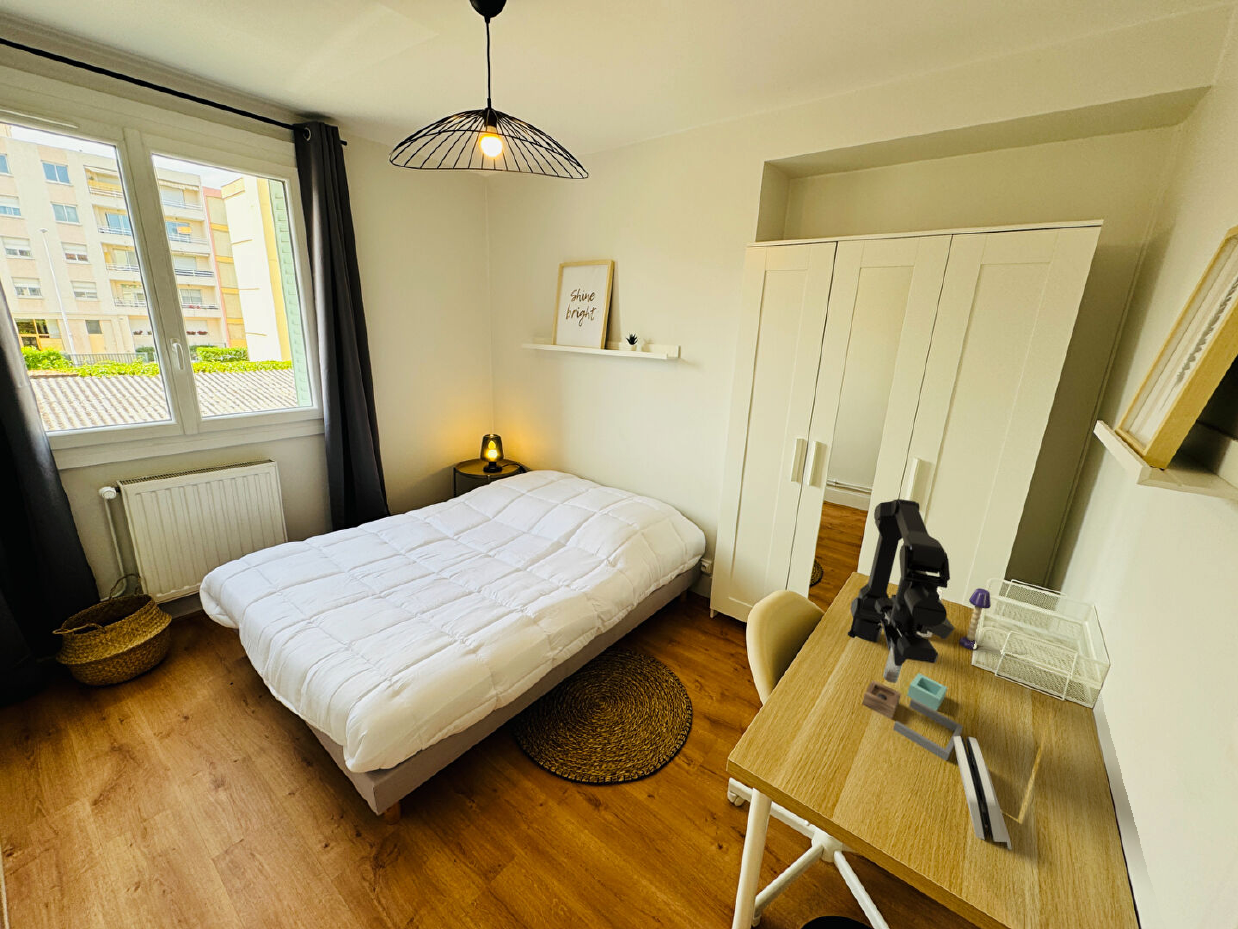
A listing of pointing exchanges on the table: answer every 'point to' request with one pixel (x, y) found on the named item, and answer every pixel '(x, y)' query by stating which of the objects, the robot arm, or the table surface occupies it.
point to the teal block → (927, 691)
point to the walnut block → (881, 699)
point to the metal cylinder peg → (891, 669)
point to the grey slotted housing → (988, 809)
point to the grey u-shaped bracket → (924, 741)
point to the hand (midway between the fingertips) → (895, 660)
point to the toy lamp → (976, 615)
